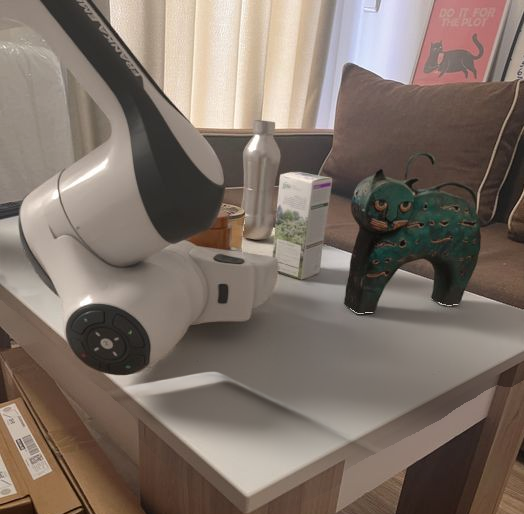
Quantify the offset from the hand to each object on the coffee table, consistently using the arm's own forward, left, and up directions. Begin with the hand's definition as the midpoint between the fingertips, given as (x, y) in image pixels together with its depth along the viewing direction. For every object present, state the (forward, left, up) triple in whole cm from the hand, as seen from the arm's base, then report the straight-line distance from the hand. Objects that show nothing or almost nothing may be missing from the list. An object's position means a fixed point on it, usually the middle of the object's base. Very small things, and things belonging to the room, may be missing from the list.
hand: (208, 249), depth 68 cm
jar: (0, 0, -6) cm, 6 cm away
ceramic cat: (+23, -13, -6) cm, 27 cm away
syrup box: (+16, +3, -6) cm, 18 cm away
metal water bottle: (+19, +22, -6) cm, 30 cm away
